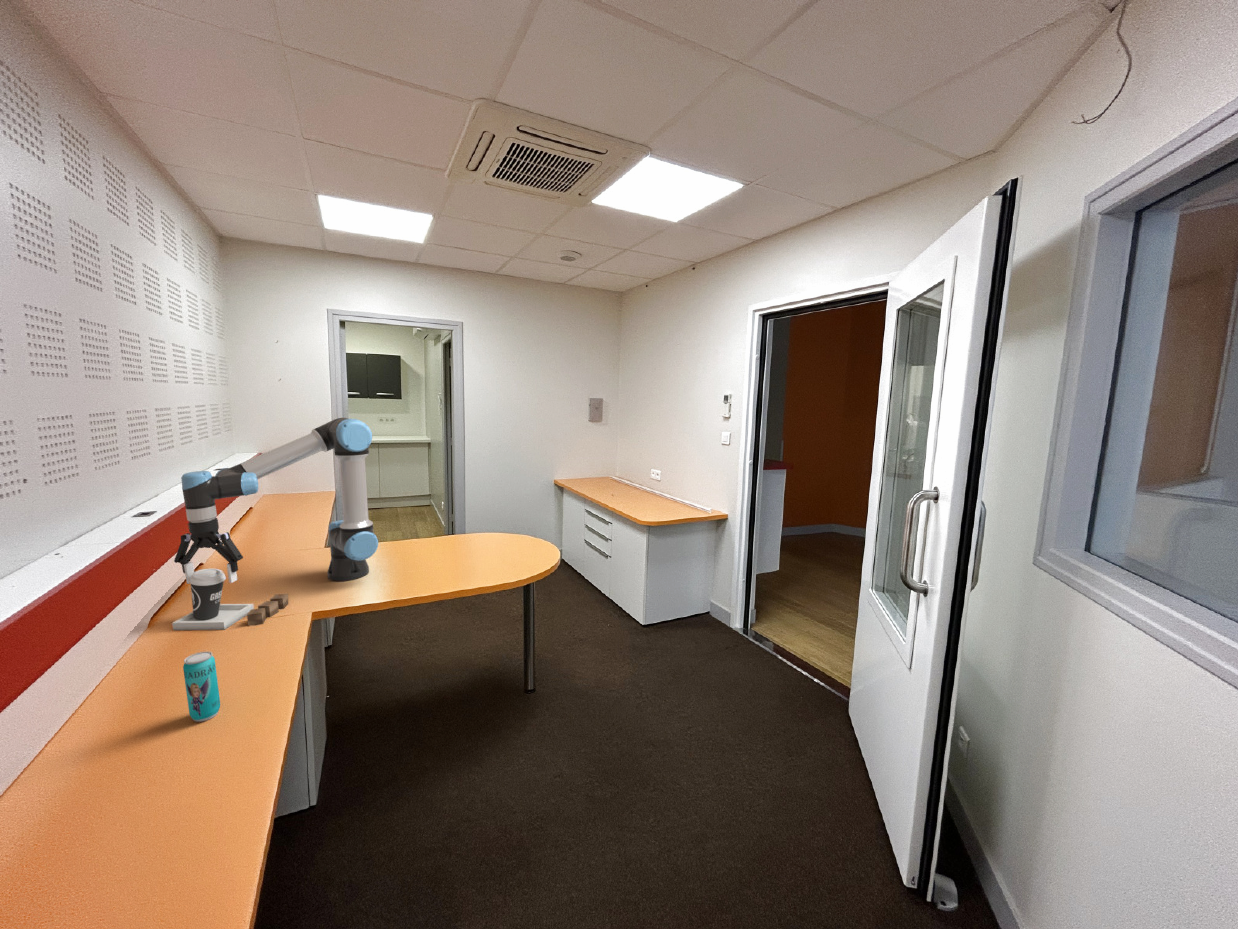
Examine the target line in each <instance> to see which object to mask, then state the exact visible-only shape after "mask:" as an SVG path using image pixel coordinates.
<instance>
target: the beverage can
mask: <svg viewBox="0 0 1238 929" xmlns="http://www.w3.org/2000/svg"><path fill="white" fill-rule="evenodd" d="M216 665H217V664H216V659H215V657H214V656H213V652H212V651H201V652H196V653H193V654H190V655H189V656H187V657H186V658H184V659H183V667H182V669H183V676H184V678H183V679H184V683H185V684H184V686H185V691H186V692H185V693H186V700H187V706H188V712H189V713H188V714H189V716H190V718H191V719H192V720H193V721H194V722H196V723H200V722H201V723H202V722H206V721H209V720H211V719H213V718H214V717H216V716H217V715H218V713H219V711H220V708H221V698H220V690H219V683H218V681H219V680H218V673H217V667H216Z"/></svg>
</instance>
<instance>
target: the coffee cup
mask: <svg viewBox="0 0 1238 929" xmlns="http://www.w3.org/2000/svg"><path fill="white" fill-rule="evenodd" d="M226 579H227V577H226V574H225V573H224V571H223V570H221V569H218V568H204V569H203V568H202V569H199V570H196V571H194V573H193V574H192V576H191V577H190V579H189V583H190V590H191V591H190V592H191V604H192V612H193V617H194V619H196V620H209V619H212V618H215V617H216V616H218V613H219V607H220V604H221V599H222V594H223V589H224V588H223V587H224V582H225V581H226Z"/></svg>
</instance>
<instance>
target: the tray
mask: <svg viewBox="0 0 1238 929" xmlns="http://www.w3.org/2000/svg"><path fill="white" fill-rule="evenodd" d="M252 609H255V607H254V603H220V607H219V613H218V616H216V617H215V618H212V619H209V620H196V619H194V617H193V611H191V612H189V613H187V614H185V615H183V616H182V617H180V618H178V619H177V620H175V621H173V622H172V624H171V625H172V631H210V630H212V631H215V630H216V631H219V630H220V631H223V630H224V631H225V630H226V629H228V628H229V627H230V626H231V627H232V625H234V624H236V623H237V622H238V621H240V620H242V619H243V618H244V617H247V614H248V613H249V611H250V610H252Z"/></svg>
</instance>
